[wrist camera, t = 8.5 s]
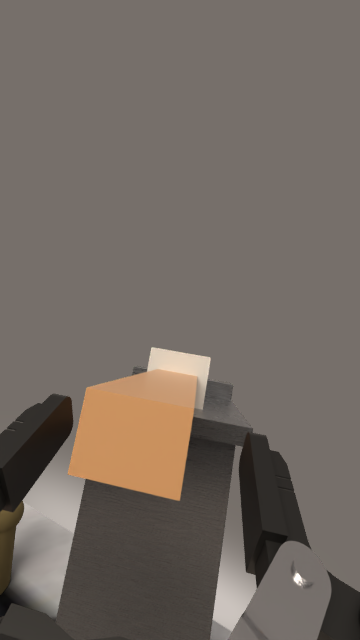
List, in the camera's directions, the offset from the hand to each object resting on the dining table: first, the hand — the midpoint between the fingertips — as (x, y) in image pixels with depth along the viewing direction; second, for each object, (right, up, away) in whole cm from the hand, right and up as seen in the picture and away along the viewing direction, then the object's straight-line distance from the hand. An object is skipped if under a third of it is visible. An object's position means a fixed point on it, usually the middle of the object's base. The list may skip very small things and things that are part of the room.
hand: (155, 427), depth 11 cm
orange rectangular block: (0, -3, +10) cm, 10 cm away
